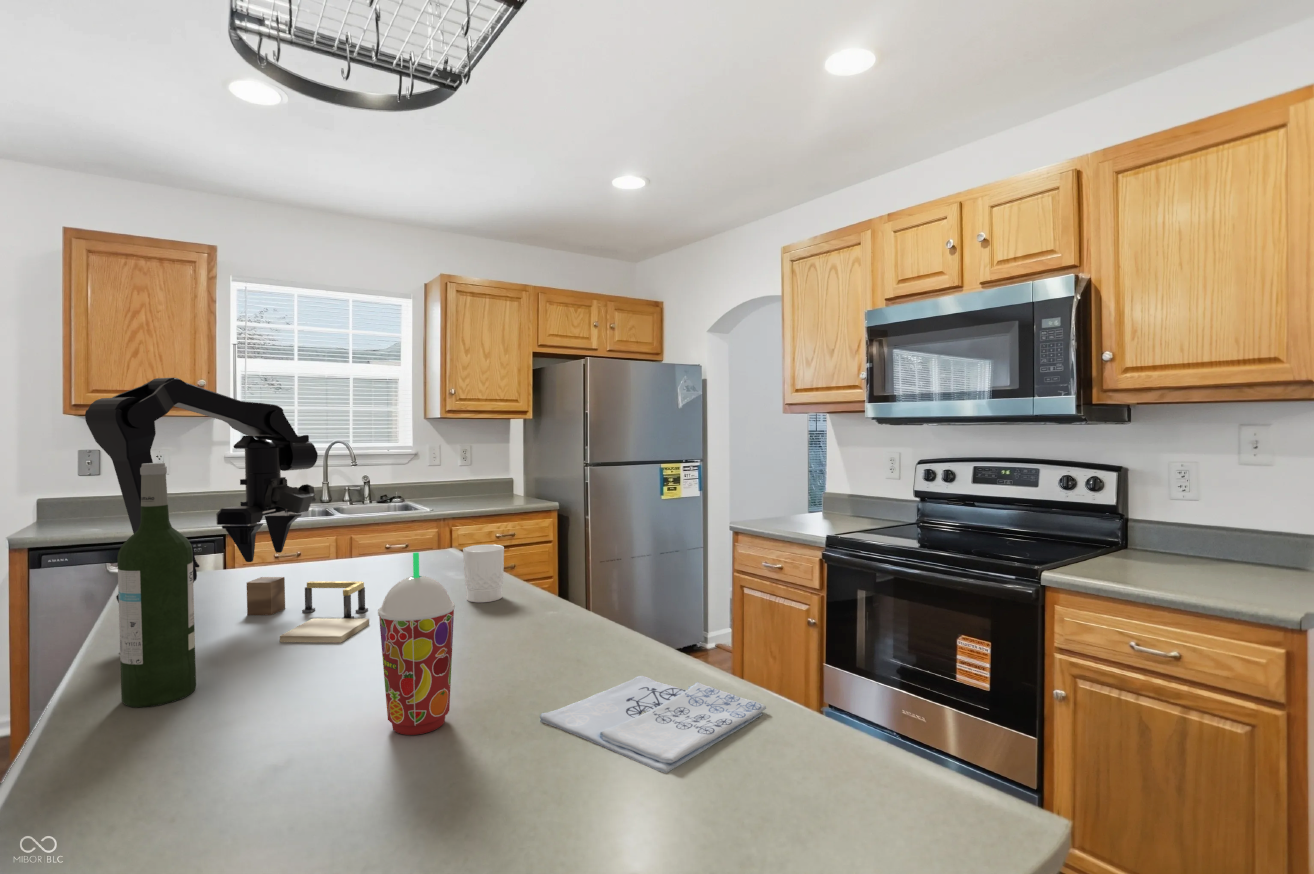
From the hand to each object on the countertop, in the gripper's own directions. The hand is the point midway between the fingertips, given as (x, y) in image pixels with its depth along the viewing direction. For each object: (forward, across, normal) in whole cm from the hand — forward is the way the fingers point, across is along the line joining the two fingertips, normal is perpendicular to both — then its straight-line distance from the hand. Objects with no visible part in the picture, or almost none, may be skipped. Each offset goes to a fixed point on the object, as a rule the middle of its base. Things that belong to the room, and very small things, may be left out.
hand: (264, 557), depth 132 cm
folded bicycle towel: (+11, -45, -74) cm, 87 cm away
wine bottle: (+11, -40, -10) cm, 42 cm away
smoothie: (+10, -48, -47) cm, 68 cm away
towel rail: (+10, -3, -13) cm, 17 cm away
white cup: (+10, +10, -38) cm, 41 cm away
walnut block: (+10, 0, 0) cm, 10 cm away
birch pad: (+10, -13, -18) cm, 24 cm away
